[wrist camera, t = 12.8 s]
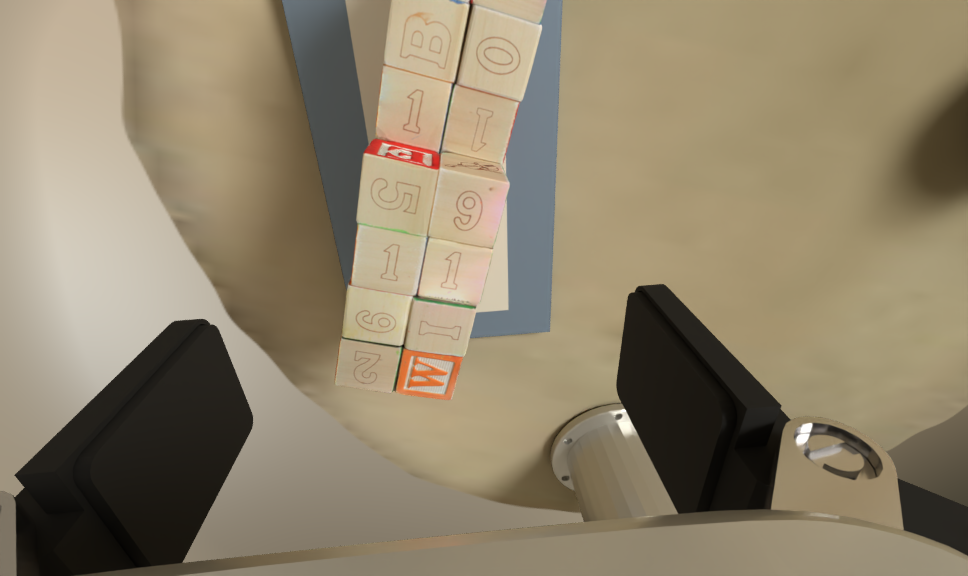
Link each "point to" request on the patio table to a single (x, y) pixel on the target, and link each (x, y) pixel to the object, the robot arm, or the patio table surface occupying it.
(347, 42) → the board
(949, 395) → the patio table surface
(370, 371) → the stack of blocks
